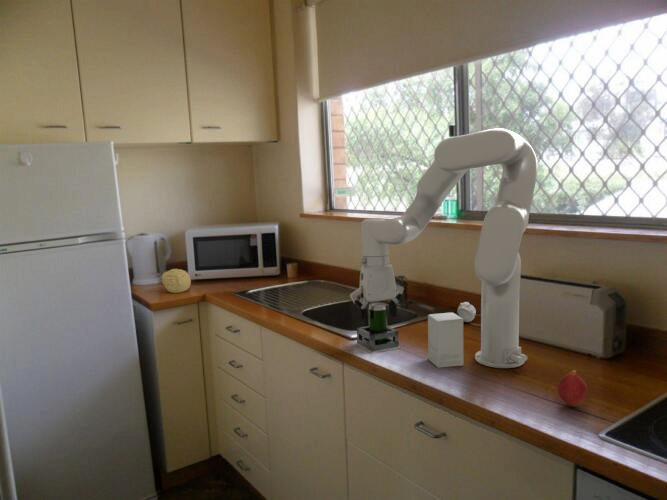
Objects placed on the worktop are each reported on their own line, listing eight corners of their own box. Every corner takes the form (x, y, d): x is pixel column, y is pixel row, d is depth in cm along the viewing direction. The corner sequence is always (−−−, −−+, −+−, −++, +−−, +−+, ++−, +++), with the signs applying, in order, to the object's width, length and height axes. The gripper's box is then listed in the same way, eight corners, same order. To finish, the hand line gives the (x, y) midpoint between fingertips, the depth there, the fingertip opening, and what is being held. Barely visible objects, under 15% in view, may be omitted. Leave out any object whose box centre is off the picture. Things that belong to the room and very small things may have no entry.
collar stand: (400, 347, 155) (399, 331, 154) (371, 353, 151) (370, 336, 150) (383, 339, 163) (383, 323, 163) (355, 344, 159) (355, 327, 159)
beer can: (377, 348, 153) (376, 307, 152) (365, 344, 158) (364, 304, 156) (391, 344, 156) (390, 305, 155) (379, 340, 161) (378, 301, 159)
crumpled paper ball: (453, 323, 178) (453, 302, 177) (462, 318, 183) (462, 298, 182) (471, 325, 174) (471, 305, 173) (479, 320, 180) (479, 300, 179)
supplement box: (464, 365, 139) (464, 318, 137) (437, 368, 137) (436, 320, 136) (453, 356, 146) (453, 311, 144) (427, 358, 145) (427, 313, 143)
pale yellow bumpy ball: (159, 293, 241) (157, 270, 240) (176, 288, 252) (174, 265, 251) (179, 295, 237) (177, 271, 235) (196, 289, 248) (194, 266, 246)
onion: (557, 410, 111) (558, 373, 110) (556, 399, 117) (557, 364, 115) (588, 413, 109) (589, 376, 108) (586, 402, 114) (587, 366, 113)
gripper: (355, 266, 147) (357, 326, 149) (408, 259, 154) (410, 317, 156) (343, 262, 153) (346, 320, 156) (395, 256, 160) (397, 311, 163)
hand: (378, 318), depth 156 cm, fingers open, 9 cm apart
